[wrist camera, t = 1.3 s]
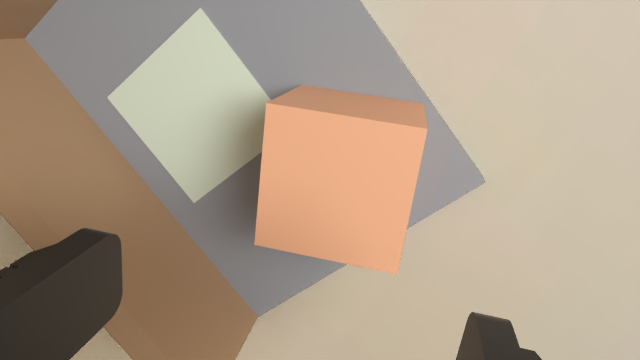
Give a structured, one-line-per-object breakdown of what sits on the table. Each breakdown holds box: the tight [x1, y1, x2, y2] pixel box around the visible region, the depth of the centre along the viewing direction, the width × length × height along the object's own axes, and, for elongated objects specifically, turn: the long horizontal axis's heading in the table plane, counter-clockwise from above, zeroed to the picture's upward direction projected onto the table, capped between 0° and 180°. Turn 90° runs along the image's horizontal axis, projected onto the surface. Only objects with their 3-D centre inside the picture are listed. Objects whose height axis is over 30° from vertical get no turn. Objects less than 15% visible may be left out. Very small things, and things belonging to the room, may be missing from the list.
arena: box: [0, 0, 485, 360], centre depth 21 cm, size 22×17×8 cm
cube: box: [254, 85, 428, 274], centre depth 20 cm, size 6×6×6 cm
